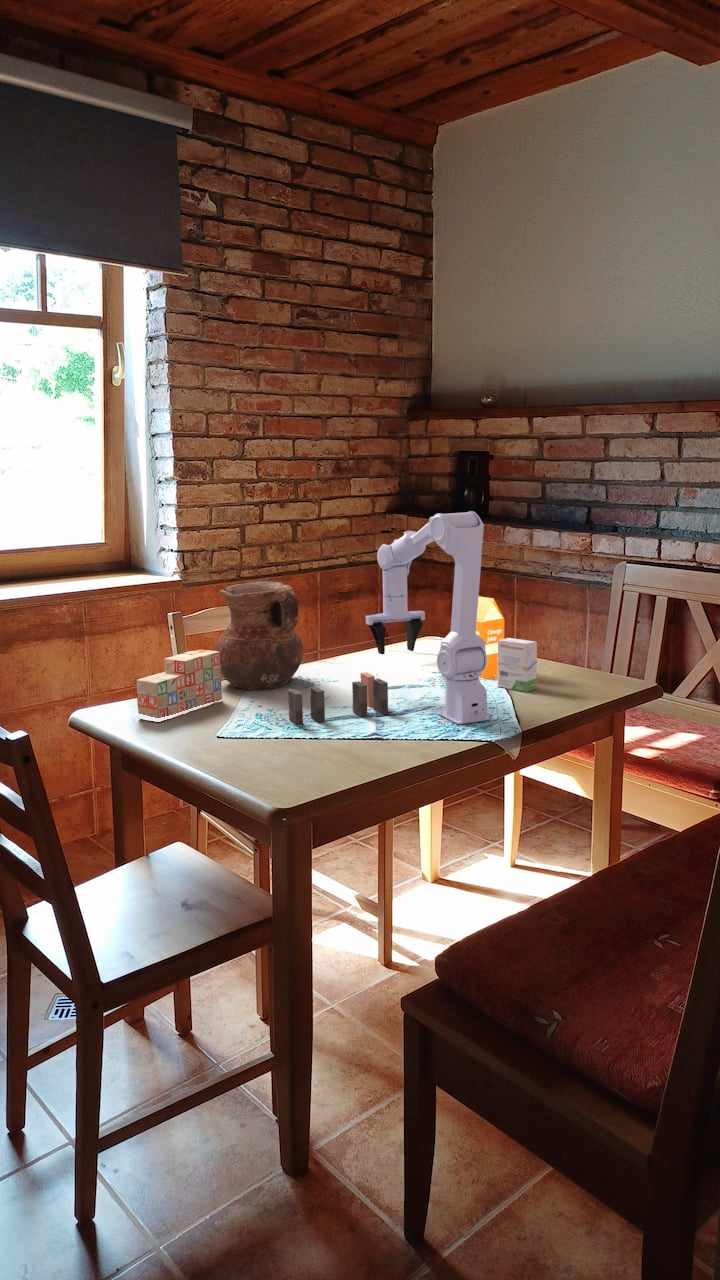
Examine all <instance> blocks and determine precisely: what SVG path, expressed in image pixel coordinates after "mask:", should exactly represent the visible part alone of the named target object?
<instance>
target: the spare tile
mask: <svg viewBox="0 0 720 1280" xmlns="http://www.w3.org/2000/svg"><path fill="white" fill-rule="evenodd" d="M373 679H376V677H375V675H373V674H371V673H369V672H360V682H361V683H363V684H365V685H367V708H373Z"/></svg>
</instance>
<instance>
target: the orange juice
mask: <svg viewBox="0 0 720 1280" xmlns="http://www.w3.org/2000/svg"><path fill="white" fill-rule="evenodd" d="M476 634H477V635H479V636H480V637H481V638H482V639H483V640H484V641H485V642H486V646H485V649H486V654H487V665H486V668H485V670H484V671H482V676H480V677H481V678H480V679H482V678H485V679H487V678H486V677H489V678H491V677H490V676H494V675H498V641H499V640H501V639H505V618H504V616H503V614H502V613H501V611H500V609H499V606H498V605H497V602H496V600H495V598H492V597H485V596H480V595H479V598H478V611H477V624H476ZM494 677H495V676H494Z"/></svg>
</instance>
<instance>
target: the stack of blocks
mask: <svg viewBox="0 0 720 1280" xmlns="http://www.w3.org/2000/svg"><path fill="white" fill-rule="evenodd" d="M163 660H164V661H163V662H164V671H163V672H159V673H157V674H156V673H155V674H152V675H149V676H145V677H142V678H139V679H136V701H137V712H138V713H139V714H143V715H147V716H150V717H155V718H161V717H165V716H169V715H173V714H176V713H179V712H182V711H185V710H188V709H191V708H193V707H197V706H200V705H204V704H207V703H211V702H215V701H219V700H221V699H222V700H223V690H222V674H221V664H220V652H218V651H215V650H209V649H201V648H200V649H196V650H189V651H185V652H182V653H181V654H176V655H173V656H170V657H165V658H164V659H163ZM138 713H137V714H138Z"/></svg>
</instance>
